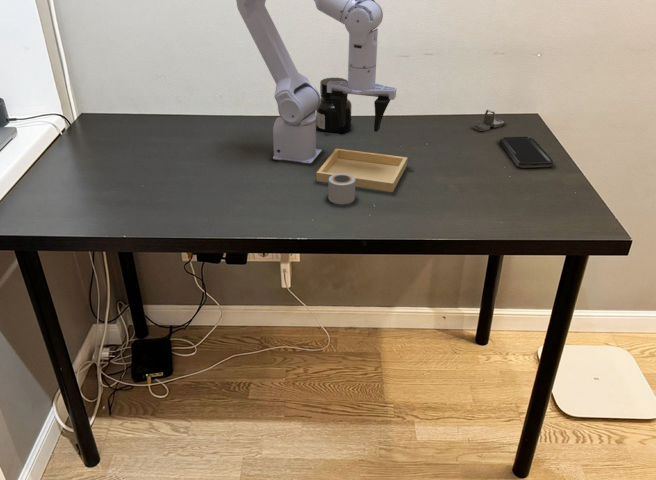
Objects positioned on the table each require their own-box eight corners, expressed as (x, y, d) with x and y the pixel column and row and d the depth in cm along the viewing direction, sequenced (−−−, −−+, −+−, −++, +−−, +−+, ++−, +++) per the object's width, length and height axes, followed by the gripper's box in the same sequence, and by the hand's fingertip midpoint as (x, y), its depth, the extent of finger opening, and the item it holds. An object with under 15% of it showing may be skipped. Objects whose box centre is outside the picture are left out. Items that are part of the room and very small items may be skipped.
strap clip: (495, 121, 167) (498, 105, 165) (504, 125, 165) (507, 108, 163) (471, 128, 163) (473, 112, 161) (480, 132, 161) (482, 115, 159)
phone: (531, 136, 155) (554, 162, 143) (530, 141, 156) (553, 167, 143) (498, 137, 155) (518, 163, 143) (498, 142, 156) (518, 168, 143)
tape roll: (324, 204, 131) (324, 182, 128) (332, 192, 135) (333, 171, 133) (350, 208, 130) (351, 186, 127) (357, 196, 134) (358, 174, 131)
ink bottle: (319, 120, 170) (319, 75, 163) (353, 122, 168) (354, 76, 162) (313, 134, 162) (312, 87, 155) (348, 136, 160) (349, 88, 154)
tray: (316, 183, 139) (316, 172, 138) (335, 158, 150) (335, 148, 148) (392, 194, 134) (393, 183, 133) (406, 168, 145) (407, 157, 143)
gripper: (322, 66, 132) (321, 130, 139) (391, 73, 127) (387, 138, 135) (333, 57, 137) (332, 118, 145) (400, 63, 133) (395, 126, 140)
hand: (359, 127), depth 140 cm, fingers open, 7 cm apart
